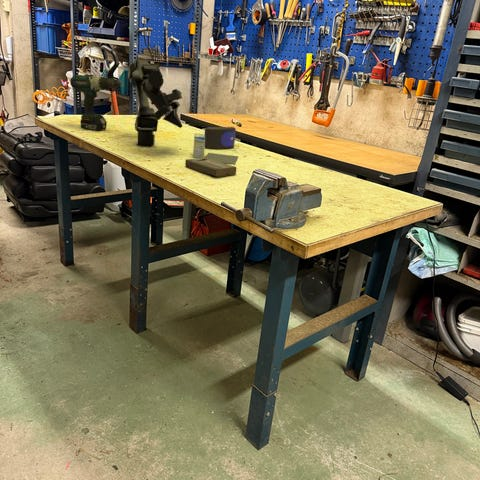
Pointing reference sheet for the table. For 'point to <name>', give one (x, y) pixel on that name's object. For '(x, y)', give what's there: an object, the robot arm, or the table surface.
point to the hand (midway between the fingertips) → (181, 127)
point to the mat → (222, 158)
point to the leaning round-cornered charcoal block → (219, 137)
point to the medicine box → (199, 145)
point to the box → (211, 167)
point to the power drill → (92, 98)
